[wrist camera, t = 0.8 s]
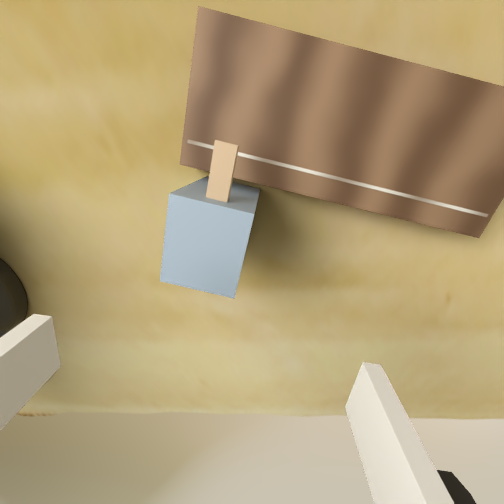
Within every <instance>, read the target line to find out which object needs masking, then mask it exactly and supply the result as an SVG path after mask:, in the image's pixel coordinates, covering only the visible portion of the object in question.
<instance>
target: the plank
mask: <svg viewBox="0 0 504 504" xmlns="http://www.w3.org/2000/svg"><path fill="white" fill-rule="evenodd" d="M215 140H219V141H223V142H227V143H231V144H235V145H239V150H238V155H237V160H236V166H235V171H234V176H233V178H237V179H241V180H245V181H249V182H253V183H257V184H261V185H265V186H269V187H273V188H277V189H282V190H286V191H290V192H294V193H298V194H302V195H306V196H310V197H314V198H318V199H322V200H326V201H330V202H334V203H338V204H342V205H347V206H351V207H355V208H359V209H363V210H367V211H371V212H375V213H379V214H383V215H387V216H391V217H395V218H399V219H403V220H407V221H412V222H416V223H420V224H424V225H428V226H432V227H436V228H440V229H444V230H448V231H452V232H456V233H460V234H464V235H468V236H472V237H477V238H479V237H480V236H481V234H482V232H483V231H484V229H485V227H486V226H487V224H488V222H489V221H490V219H491V217H492V216H493V214H494V212H495V211H496V209H497V207H498V206H499V204H500V202H501V201H502V199H503V197H504V87H503V86H499V85H496V84H492V83H488V82H484V81H480V80H477V79H473V78H469V77H465V76H461V75H458V74H454V73H450V72H446V71H443V70H439V69H435V68H431V67H427V66H424V65H420V64H416V63H412V62H408V61H405V60H401V59H397V58H393V57H389V56H386V55H382V54H378V53H374V52H370V51H367V50H363V49H359V48H355V47H351V46H348V45H344V44H340V43H336V42H332V41H329V40H325V39H321V38H317V37H313V36H310V35H306V34H302V33H298V32H295V31H291V30H287V29H283V28H279V27H276V26H272V25H268V24H264V23H260V22H257V21H253V20H249V19H245V18H241V17H238V16H234V15H230V14H226V13H222V12H219V11H215V10H211V9H207V8H203V7H200V6H198V13H197V22H196V30H195V39H194V47H193V56H192V64H191V73H190V81H189V90H188V98H187V107H186V115H185V124H184V132H183V141H182V149H181V158H180V165H184V166H188V167H192V168H196V169H200V170H204V171H208V172H210V167H211V161H212V155H213V149H214V143H215Z"/></svg>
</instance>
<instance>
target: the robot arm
mask: <svg viewBox="0 0 504 504" xmlns="http://www.w3.org/2000/svg"><path fill="white" fill-rule="evenodd" d="M26 313H27V298H26V294H25V291H24V289H23V286H22V284H21V283H20V281H19V279H18V278H17V276H16V275H15V274H14V272H13V271H12V270H11V269H10V268H9V267H8V266H7V265H6V264H5V263H4V262H3V261H2V260H1V259H0V431H1V430H2V429H3V427H5V425H6V424H7V423H8V422H9V421H10V420H11V419H12V418H13V417H14V416H15V415H16V414H17V413H18V412H19V411H20V409H21V408H22V407H23V406H24V405H25V404H26V403H27V402H28V401H29V400H30V399H31V398H32V397H33V396H34V395H35V393H36V392H37V391H38V390H39V389H40V388H41V387H42V386H43V385H44V384H45V383H46V382H47V381H48V380H49V379H50V377H51V376H52V375H53V374H54V373H55V372H56V371H57V370H58V369H59V368H60V367H61V363H60V357H59V352H58V346H57V341H56V335H55V330H54V324H53V319H52V316H46V315H39V314H33V315H31V316H30V317H29V318H27V319H26V320H24V318H25V316H26ZM23 320H24V321H23ZM345 409H346V413H347V416H348V419H349V423H350V426H351V429H352V432H353V436H354V439H355V442H356V446H357V449H358V452H359V455H360V459H361V462H362V465H363V468H364V472H365V475H366V479H367V482H368V485H369V488H370V492H371V495H372V498H373V502H374V504H476V503H475V501H474V499H473V497H472V496H471V494H470V493H469V492H468V490H467V489H465V487H464V486H463V485H462V484H461V482H460V481H459V480H458V479H457V478H456V477H455V476H454V474H453V473H452V472H447V471H440V470H436V468H435V466H434V464H433V463H432V460H431V459H430V457H429V455H428V453H427V451H426V449H425V447H424V445H423V443H422V441H421V440H420V438H419V436H418V434H417V432H416V430H415V428H414V426H413V425H412V423H411V421H410V419H409V417H408V415H407V413H406V411H405V409H404V407H403V406H402V404H401V402H400V400H399V398H398V396H397V394H396V392H395V390H394V389H393V387H392V385H391V383H390V381H389V379H388V377H387V375H386V373H385V372H384V370H383V368H382V366H381V365H380V364H373V363H366V362H363V363H362V365H361V368H360V370H359V373H358V375H357V378H356V381H355V383H354V386H353V388H352V391H351V393H350V396H349V398H348V401H347V403H346V406H345Z"/></svg>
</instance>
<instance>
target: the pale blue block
mask: <svg viewBox="0 0 504 504" xmlns="http://www.w3.org/2000/svg"><path fill="white" fill-rule="evenodd" d="M238 150H239V145H235V144H231V143H227V142H223V141H219V140H215V143H214V149H213V155H212V161H211V167H210V174H209V176H207V177H204V178H202V179H200V180H198V181H196V182H193V183H191V184H189V185H187V186H185V187H182V188H180V189H178V190H176V191H174V192H171V193H169V200H168V210H167V219H166V229H165V238H164V247H163V257H162V266H161V275H160V281H161V282H166V283H170V284H174V285H178V286H183V287H187V288H191V289H196V290H200V291H204V292H208V293H213V294H217V295H221V296H226V297H230V298H235V294H236V289H237V285H238V281H239V277H240V273H241V269H242V264H243V260H244V256H245V252H246V248H247V244H248V239H249V235H250V231H251V227H252V223H253V218H254V214H255V210H256V206H257V201H258V197H259V193H260V189H259V188H255V187H251V186H247V185H243V184H239V183H235V182H232V181H233V176H234V171H235V166H236V160H237V155H238Z"/></svg>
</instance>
